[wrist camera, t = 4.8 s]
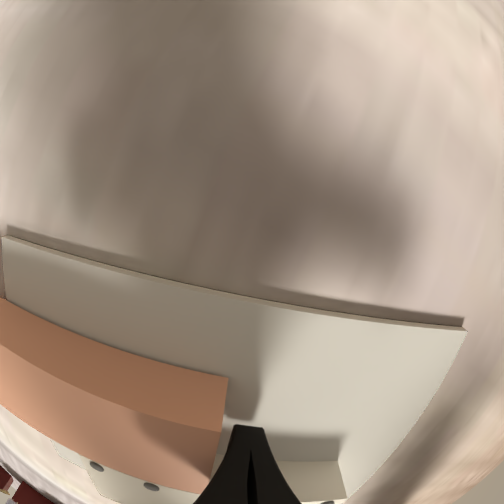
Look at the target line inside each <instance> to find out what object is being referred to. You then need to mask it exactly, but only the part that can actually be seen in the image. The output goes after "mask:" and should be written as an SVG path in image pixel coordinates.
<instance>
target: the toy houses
mask: <svg viewBox="0 0 504 504" xmlns="http://www.w3.org/2000/svg"><path fill="white" fill-rule="evenodd" d="M12 482H13V479H12V476H11V475H10V474H9V473H7V472H6V471H5V470H4V469H3V468H2V467H1V466H0V491H1V492H3V493H5V494H8V495H10V494H9V493H8V491H7V490H8V489H9V487H10V486H11V484H12ZM12 500H13V501H14V502H16V503H17V504H54V503H53V502H51V501H50V500H48V499H47V498H45V497H44V496H43V495H41V494H40V493H38V492H37V491H36V490H34V489H33V488H32V487H30V486H29V485H28V484H27V483H25V482H24V481H22V483H21V484H20V486H19V488H18V489H17V491H16V492H15V494H14V496H13V497H12Z"/></svg>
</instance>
